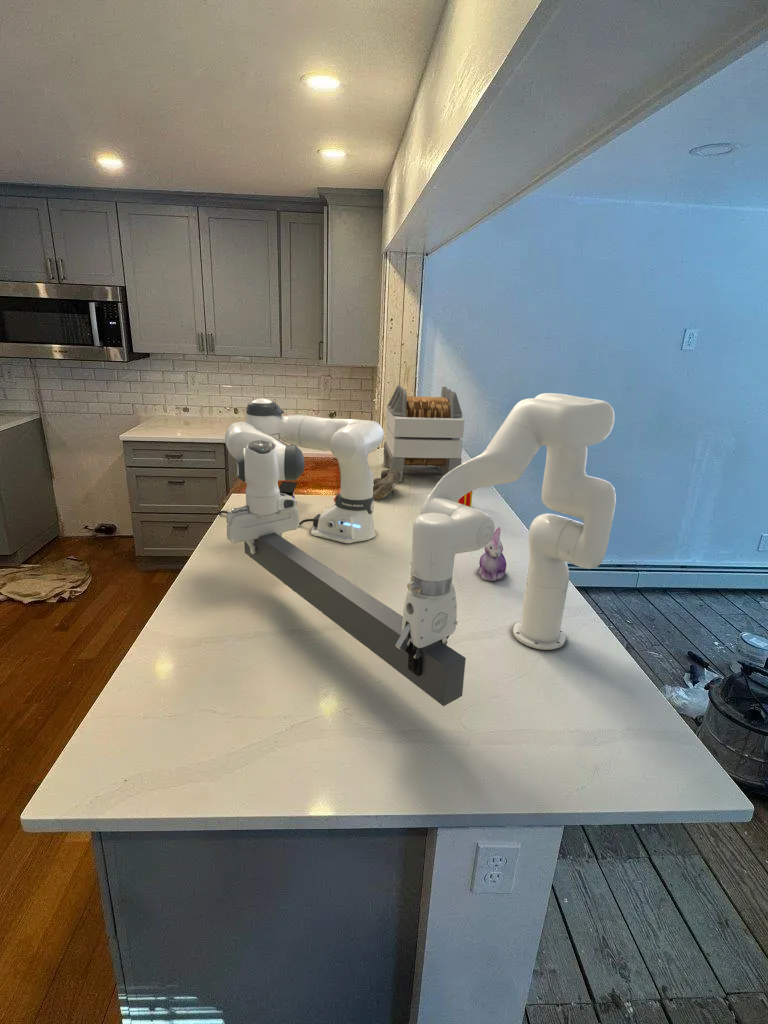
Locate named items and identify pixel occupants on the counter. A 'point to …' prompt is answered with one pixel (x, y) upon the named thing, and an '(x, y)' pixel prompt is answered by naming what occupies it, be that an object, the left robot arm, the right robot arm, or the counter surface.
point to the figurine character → (288, 488)
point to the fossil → (385, 483)
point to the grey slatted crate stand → (423, 431)
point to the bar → (360, 616)
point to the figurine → (493, 559)
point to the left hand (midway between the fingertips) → (264, 550)
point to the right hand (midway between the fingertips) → (425, 666)
